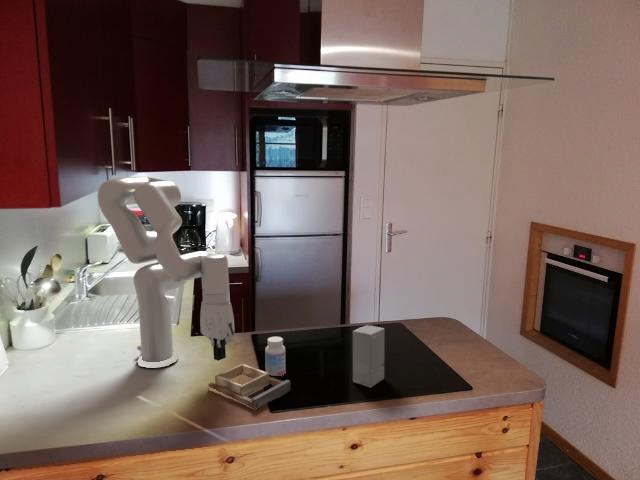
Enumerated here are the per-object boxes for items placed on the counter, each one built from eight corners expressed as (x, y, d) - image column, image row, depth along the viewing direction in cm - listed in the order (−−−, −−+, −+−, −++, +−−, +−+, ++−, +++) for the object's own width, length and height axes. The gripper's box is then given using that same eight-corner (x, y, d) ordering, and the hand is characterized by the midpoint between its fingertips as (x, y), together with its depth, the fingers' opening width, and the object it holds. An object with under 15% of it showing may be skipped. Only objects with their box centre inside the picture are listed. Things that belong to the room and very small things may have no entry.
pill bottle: (282, 379, 150) (282, 343, 148) (262, 377, 151) (262, 342, 149) (287, 371, 156) (287, 336, 154) (268, 369, 157) (268, 334, 155)
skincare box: (370, 388, 145) (372, 336, 142) (349, 381, 149) (351, 330, 146) (385, 378, 151) (387, 327, 149) (365, 372, 156) (366, 322, 153)
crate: (215, 389, 143) (215, 376, 142) (242, 375, 151) (242, 363, 150) (242, 400, 136) (241, 386, 136) (269, 386, 145) (268, 373, 144)
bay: (208, 392, 142) (208, 380, 141) (244, 375, 153) (244, 364, 152) (255, 412, 131) (254, 400, 131) (290, 392, 142) (290, 380, 142)
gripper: (188, 296, 147) (193, 357, 150) (224, 304, 138) (228, 368, 141) (209, 291, 153) (212, 349, 156) (244, 298, 144) (247, 360, 147)
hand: (219, 358), depth 148 cm, fingers closed
